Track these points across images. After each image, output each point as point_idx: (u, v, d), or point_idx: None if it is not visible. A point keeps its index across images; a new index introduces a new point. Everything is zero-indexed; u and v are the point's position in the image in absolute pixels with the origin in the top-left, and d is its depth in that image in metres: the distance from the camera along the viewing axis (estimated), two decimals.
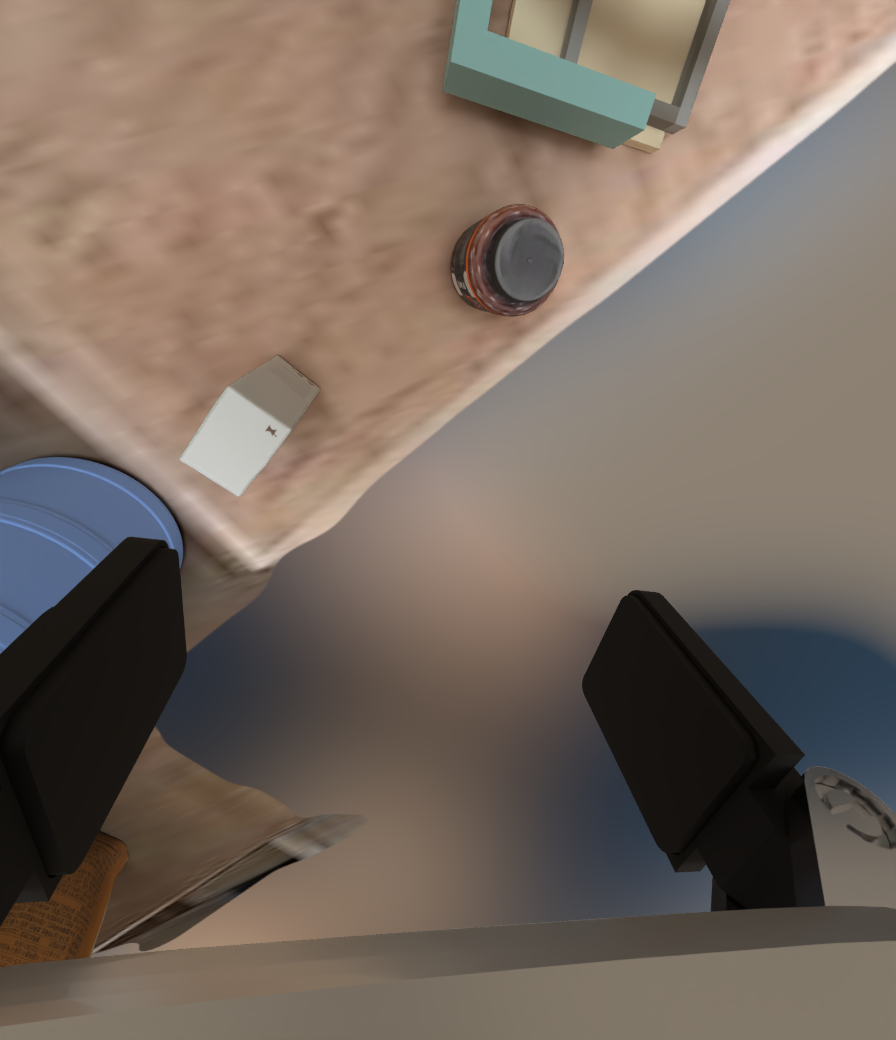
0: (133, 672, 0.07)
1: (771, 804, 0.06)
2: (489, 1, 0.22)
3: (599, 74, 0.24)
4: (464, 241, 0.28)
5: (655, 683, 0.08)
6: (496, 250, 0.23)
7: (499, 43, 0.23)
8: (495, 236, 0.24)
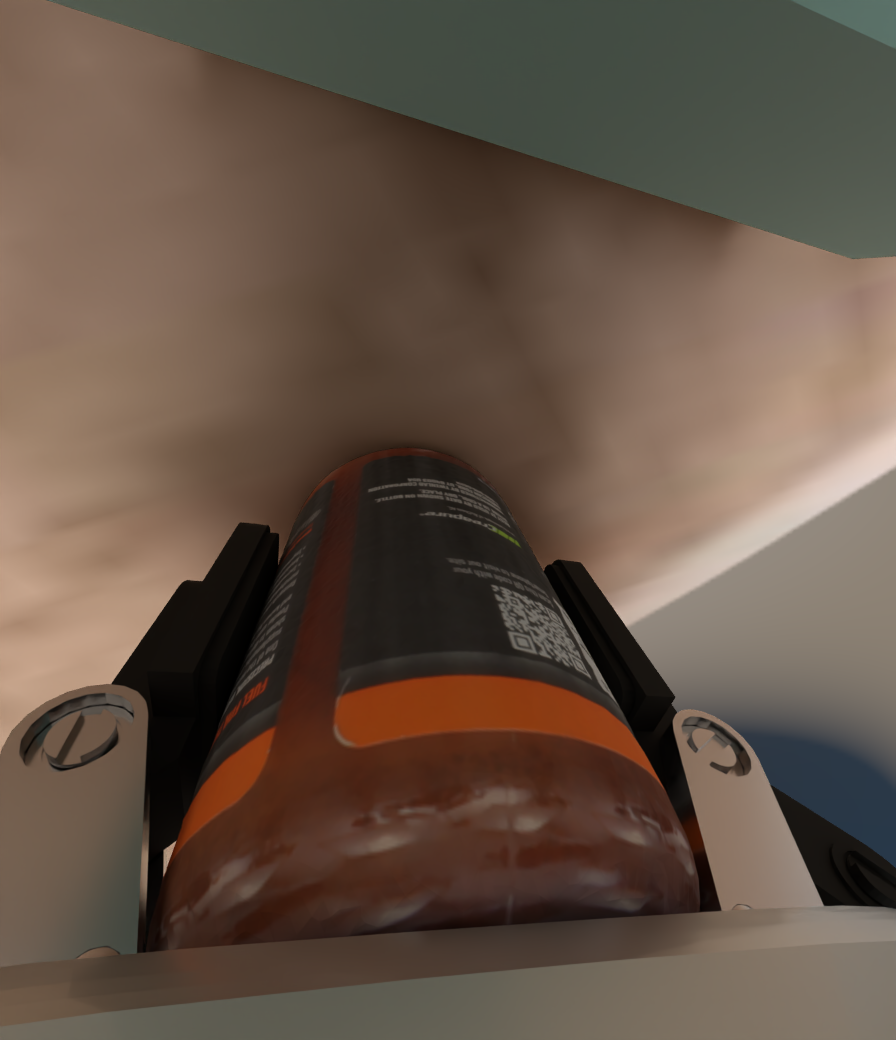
0: None
1: (645, 744, 0.07)
2: None
3: None
4: (250, 642, 0.07)
5: None
6: None
7: None
8: None
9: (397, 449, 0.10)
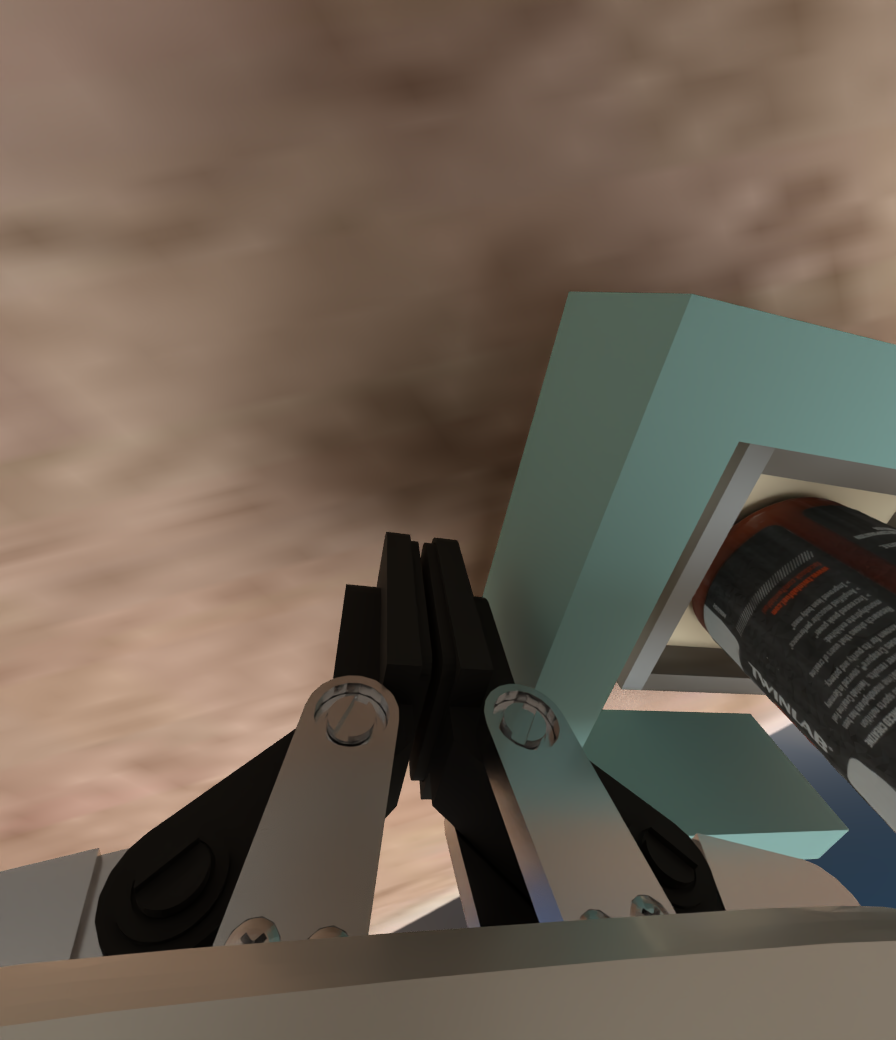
0: None
1: (465, 719, 0.06)
2: None
3: (748, 833, 0.12)
4: (845, 650, 0.10)
5: None
6: None
7: None
8: None
9: (806, 499, 0.13)
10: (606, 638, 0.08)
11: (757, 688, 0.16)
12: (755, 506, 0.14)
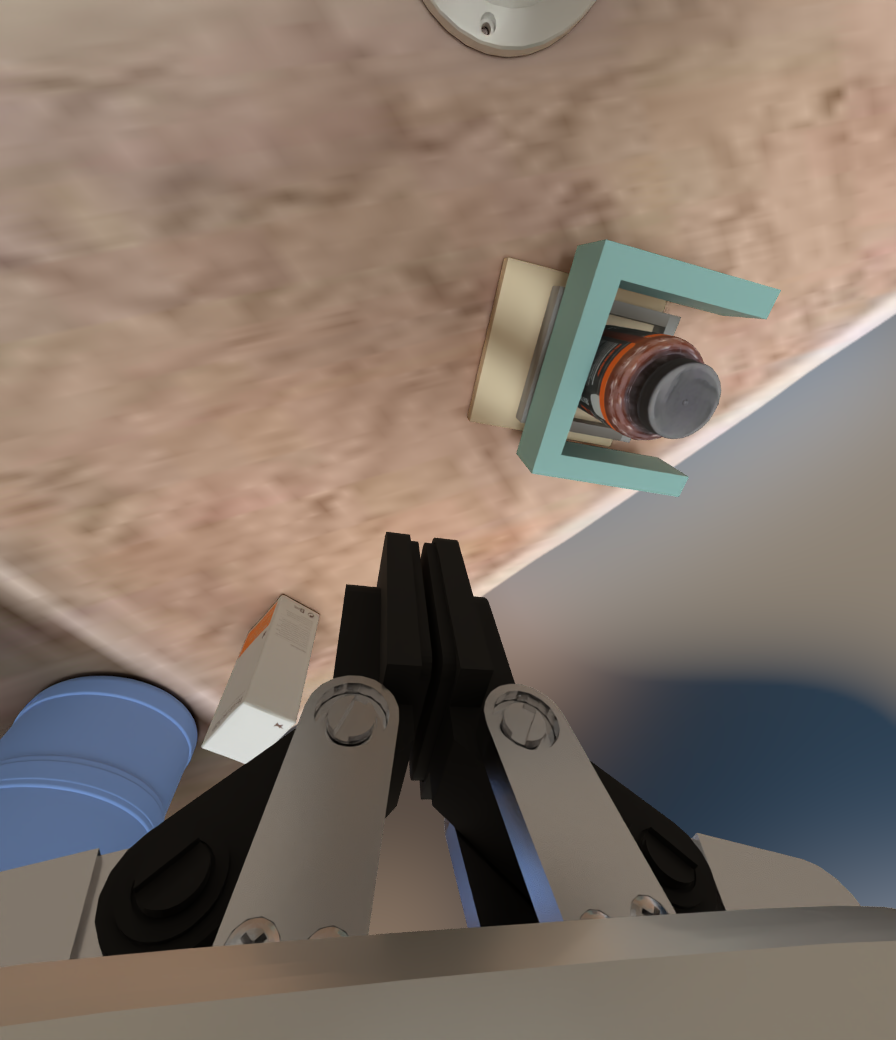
0: None
1: (466, 720, 0.06)
2: (563, 440, 0.28)
3: (645, 470, 0.30)
4: None
5: None
6: (652, 393, 0.22)
7: (569, 460, 0.29)
8: (644, 372, 0.23)
9: None
10: (587, 348, 0.26)
11: (589, 431, 0.33)
12: None
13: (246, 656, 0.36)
